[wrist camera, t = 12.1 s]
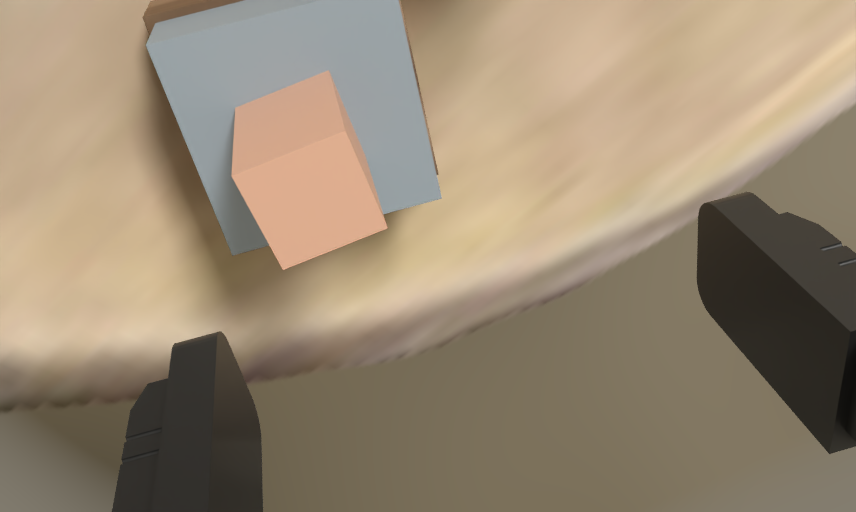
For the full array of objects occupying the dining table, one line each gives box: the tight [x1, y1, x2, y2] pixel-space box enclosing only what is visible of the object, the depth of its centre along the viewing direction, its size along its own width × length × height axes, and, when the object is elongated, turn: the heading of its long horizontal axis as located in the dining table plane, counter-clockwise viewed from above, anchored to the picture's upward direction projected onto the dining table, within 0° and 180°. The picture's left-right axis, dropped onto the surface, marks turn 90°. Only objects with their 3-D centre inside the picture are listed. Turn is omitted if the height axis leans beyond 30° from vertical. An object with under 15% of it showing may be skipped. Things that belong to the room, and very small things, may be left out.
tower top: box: [146, 0, 442, 256], centre depth 41 cm, size 12×12×4 cm
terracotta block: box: [231, 70, 387, 270], centre depth 36 cm, size 5×5×8 cm
